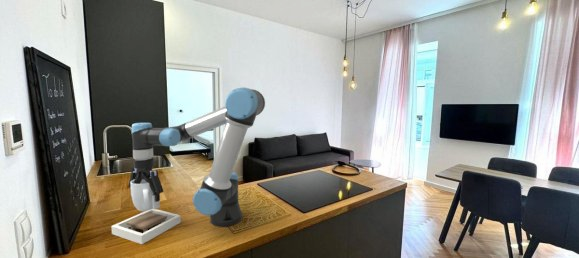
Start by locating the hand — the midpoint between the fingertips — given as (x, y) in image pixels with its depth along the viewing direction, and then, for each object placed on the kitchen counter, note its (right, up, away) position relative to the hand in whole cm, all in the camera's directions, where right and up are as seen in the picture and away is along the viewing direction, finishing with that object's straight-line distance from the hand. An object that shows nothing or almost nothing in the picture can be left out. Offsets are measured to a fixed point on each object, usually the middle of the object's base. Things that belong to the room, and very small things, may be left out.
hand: (146, 205), depth 105 cm
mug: (0, -2, 0) cm, 2 cm away
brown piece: (0, -10, +1) cm, 11 cm away
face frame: (0, -10, +1) cm, 11 cm away
